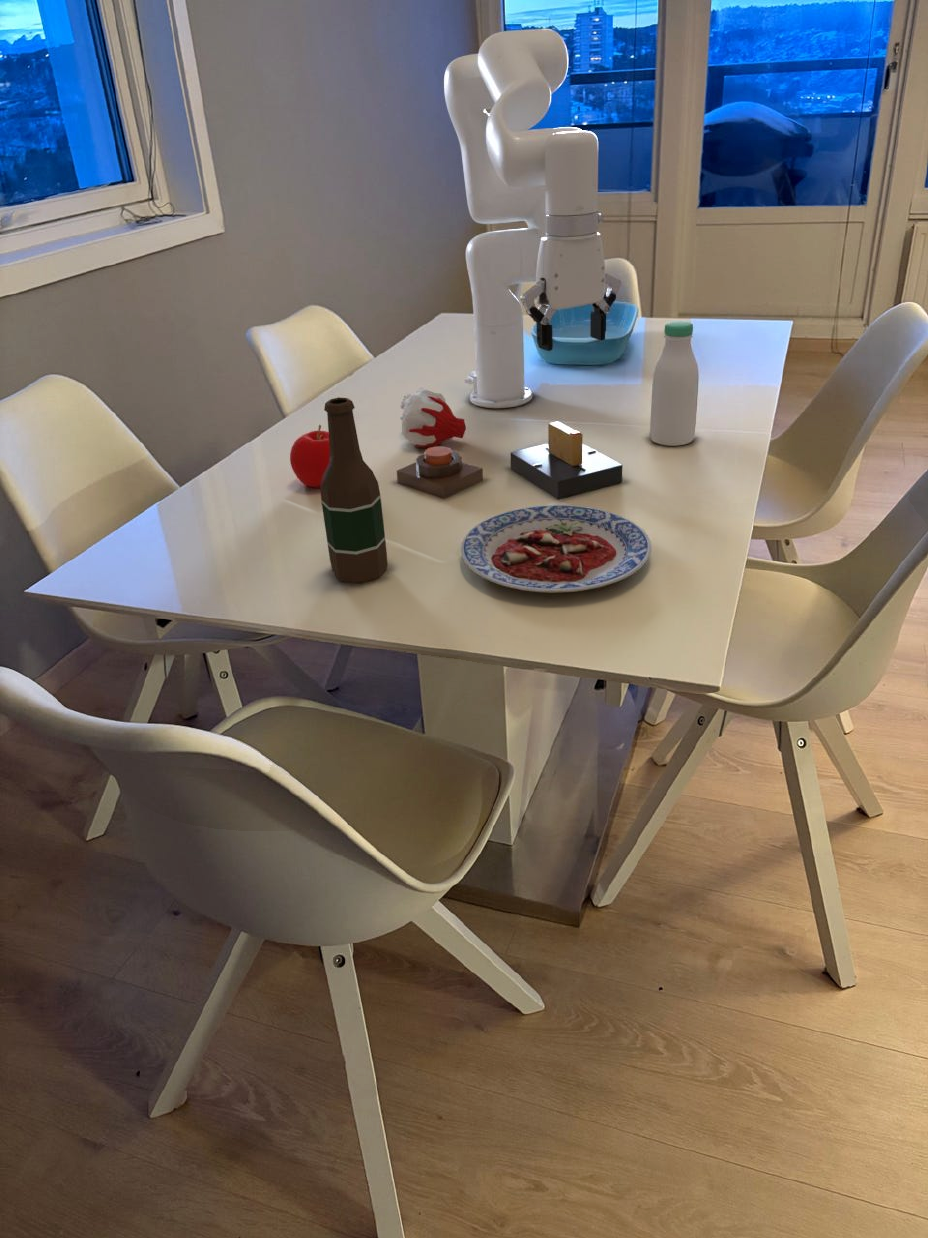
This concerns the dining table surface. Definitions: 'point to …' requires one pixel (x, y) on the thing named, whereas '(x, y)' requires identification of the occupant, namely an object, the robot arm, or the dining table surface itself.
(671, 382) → the milk bottle
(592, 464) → the plate
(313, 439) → the fruit
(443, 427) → the white and red skull
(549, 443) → the tap lever
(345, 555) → the beer bottle
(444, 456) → the button
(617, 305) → the casserole dish
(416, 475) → the button block
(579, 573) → the ceramic plate
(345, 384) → the dining table surface
